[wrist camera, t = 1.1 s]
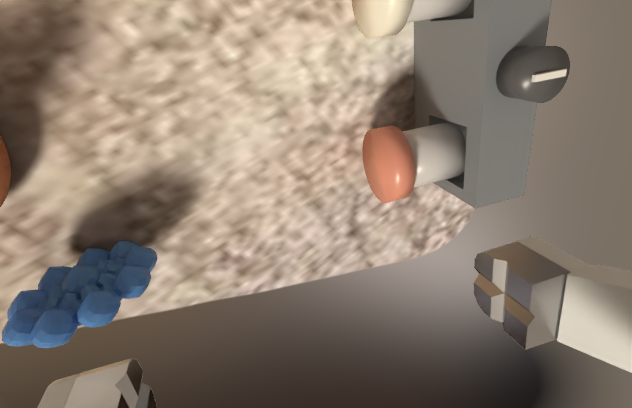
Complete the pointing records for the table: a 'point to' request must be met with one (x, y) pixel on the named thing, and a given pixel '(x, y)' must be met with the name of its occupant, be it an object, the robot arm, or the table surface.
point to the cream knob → (400, 13)
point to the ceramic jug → (4, 172)
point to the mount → (479, 92)
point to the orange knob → (411, 158)
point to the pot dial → (533, 73)
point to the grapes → (79, 295)
